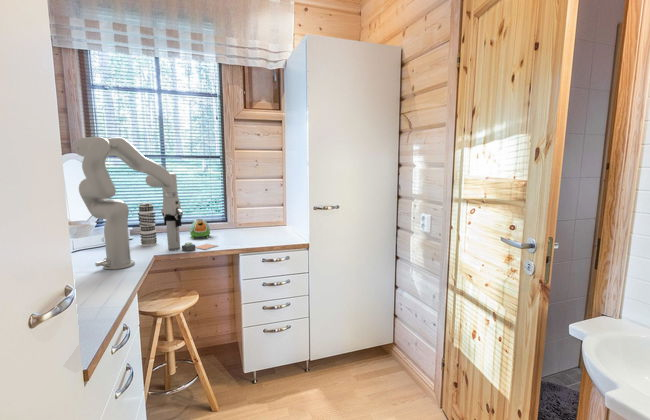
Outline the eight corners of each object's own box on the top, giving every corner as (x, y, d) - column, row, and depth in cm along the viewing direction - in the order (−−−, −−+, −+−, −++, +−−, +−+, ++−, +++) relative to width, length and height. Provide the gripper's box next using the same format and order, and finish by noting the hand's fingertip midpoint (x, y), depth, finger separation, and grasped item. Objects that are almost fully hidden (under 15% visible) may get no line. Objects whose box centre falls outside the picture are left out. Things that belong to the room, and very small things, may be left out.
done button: (188, 247, 184) (187, 244, 183) (183, 246, 186) (183, 243, 185) (193, 246, 187) (193, 242, 187) (189, 245, 189) (188, 242, 188)
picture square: (204, 249, 187) (204, 249, 187) (192, 247, 192) (192, 247, 192) (218, 246, 196) (218, 245, 196) (206, 244, 201) (206, 243, 201)
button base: (188, 252, 183) (187, 246, 183) (182, 250, 186) (181, 245, 185) (195, 250, 187) (195, 244, 187) (189, 248, 190) (189, 243, 189)
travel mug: (168, 248, 191) (165, 213, 189) (180, 247, 194) (178, 213, 191) (167, 251, 186) (164, 215, 183) (180, 249, 188) (177, 214, 185)
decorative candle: (150, 246, 196) (147, 204, 192) (136, 246, 197) (133, 204, 194) (161, 243, 204) (158, 202, 201) (147, 242, 206) (144, 202, 203)
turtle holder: (208, 233, 233) (207, 216, 231) (211, 238, 216) (210, 220, 215) (189, 235, 227) (187, 217, 226) (191, 240, 211) (190, 222, 209)
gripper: (186, 195, 185) (188, 225, 187) (166, 193, 193) (169, 223, 196) (174, 196, 178) (177, 228, 181) (154, 195, 187) (157, 225, 189)
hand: (173, 225), depth 188 cm, fingers open, 9 cm apart
